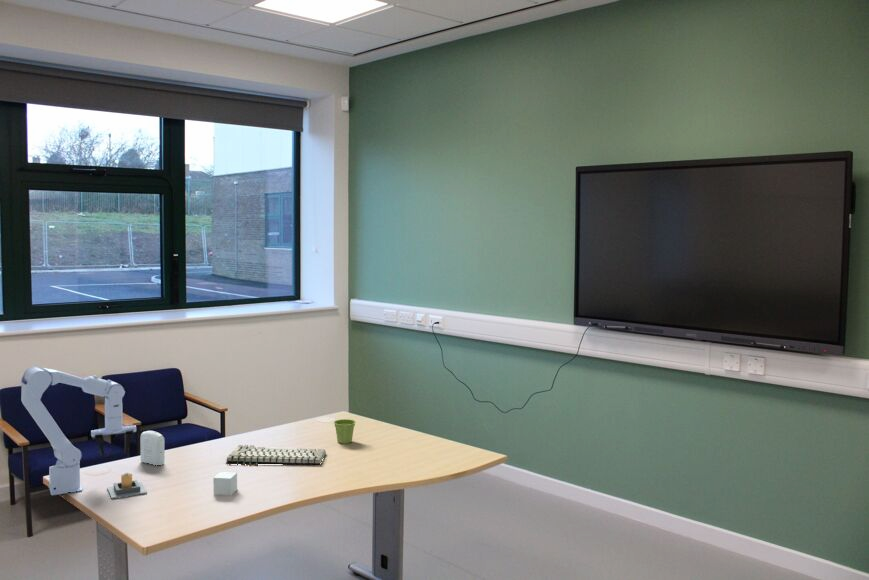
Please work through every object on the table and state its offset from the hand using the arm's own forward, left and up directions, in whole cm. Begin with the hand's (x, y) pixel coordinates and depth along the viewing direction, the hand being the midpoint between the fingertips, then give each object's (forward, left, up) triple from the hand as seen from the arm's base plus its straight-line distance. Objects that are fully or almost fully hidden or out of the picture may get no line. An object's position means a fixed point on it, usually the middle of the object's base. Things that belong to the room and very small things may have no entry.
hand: (114, 453), depth 257 cm
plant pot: (+91, +5, -10) cm, 92 cm away
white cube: (+31, -30, -10) cm, 44 cm away
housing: (+2, -14, -9) cm, 17 cm away
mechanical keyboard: (+59, -3, -10) cm, 60 cm away
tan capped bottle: (+2, -14, -9) cm, 17 cm away
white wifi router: (+15, +13, -10) cm, 22 cm away
